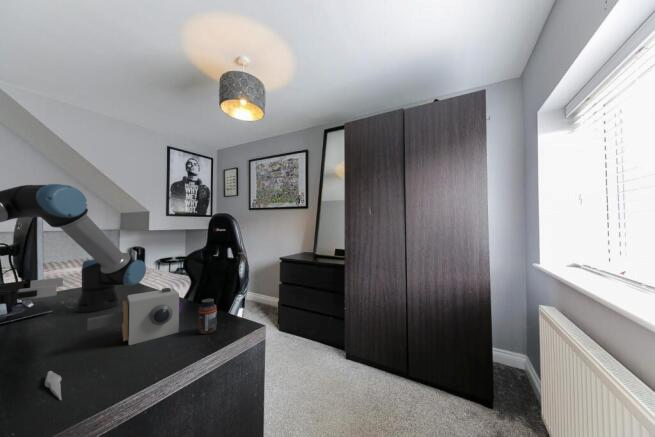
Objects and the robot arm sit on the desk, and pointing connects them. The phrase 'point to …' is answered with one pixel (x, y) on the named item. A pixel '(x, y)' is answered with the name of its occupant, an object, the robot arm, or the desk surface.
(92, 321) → the door
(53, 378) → the grey tapered wedge
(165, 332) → the camera body
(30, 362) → the desk surface
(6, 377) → the desk surface
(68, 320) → the desk surface
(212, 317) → the supplement bottle
